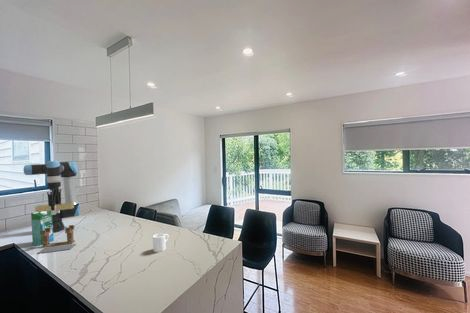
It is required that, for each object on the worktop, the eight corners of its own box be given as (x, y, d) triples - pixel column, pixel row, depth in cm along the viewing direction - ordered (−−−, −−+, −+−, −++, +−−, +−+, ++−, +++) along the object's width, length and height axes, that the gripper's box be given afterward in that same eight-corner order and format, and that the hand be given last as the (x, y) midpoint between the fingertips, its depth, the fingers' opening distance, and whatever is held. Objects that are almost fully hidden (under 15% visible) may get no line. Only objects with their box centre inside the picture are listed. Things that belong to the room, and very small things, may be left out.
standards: (45, 244, 165) (45, 228, 165) (75, 241, 170) (74, 224, 170) (40, 248, 158) (39, 231, 158) (71, 244, 163) (70, 227, 163)
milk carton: (41, 245, 165) (40, 213, 165) (32, 244, 167) (30, 213, 166) (53, 240, 174) (52, 210, 173) (45, 240, 175) (43, 210, 175)
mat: (44, 248, 157) (44, 248, 157) (76, 244, 162) (76, 243, 162) (37, 254, 149) (36, 253, 149) (70, 249, 154) (70, 248, 154)
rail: (35, 212, 151) (35, 206, 151) (39, 210, 155) (38, 205, 154) (71, 208, 156) (71, 203, 156) (74, 207, 160) (73, 202, 160)
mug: (172, 246, 151) (172, 232, 151) (158, 253, 141) (157, 238, 141) (165, 244, 155) (164, 230, 155) (150, 250, 146) (150, 236, 146)
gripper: (54, 181, 163) (56, 211, 163) (40, 183, 146) (42, 217, 146) (66, 180, 164) (67, 210, 165) (53, 182, 148) (54, 216, 148)
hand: (55, 213), depth 155 cm, fingers closed on rail, 4 cm apart
